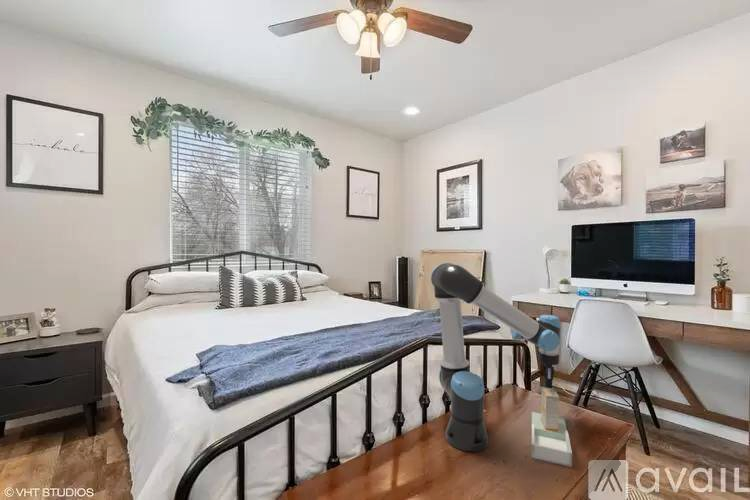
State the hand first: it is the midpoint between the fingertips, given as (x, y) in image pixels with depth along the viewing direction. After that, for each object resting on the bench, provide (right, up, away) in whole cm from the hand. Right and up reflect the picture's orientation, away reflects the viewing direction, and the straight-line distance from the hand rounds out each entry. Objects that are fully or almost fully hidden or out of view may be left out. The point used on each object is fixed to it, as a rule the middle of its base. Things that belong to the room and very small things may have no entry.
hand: (547, 409), depth 145 cm
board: (-4, -4, -8) cm, 10 cm away
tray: (-10, -5, -22) cm, 24 cm away
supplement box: (-4, -2, -10) cm, 11 cm away
